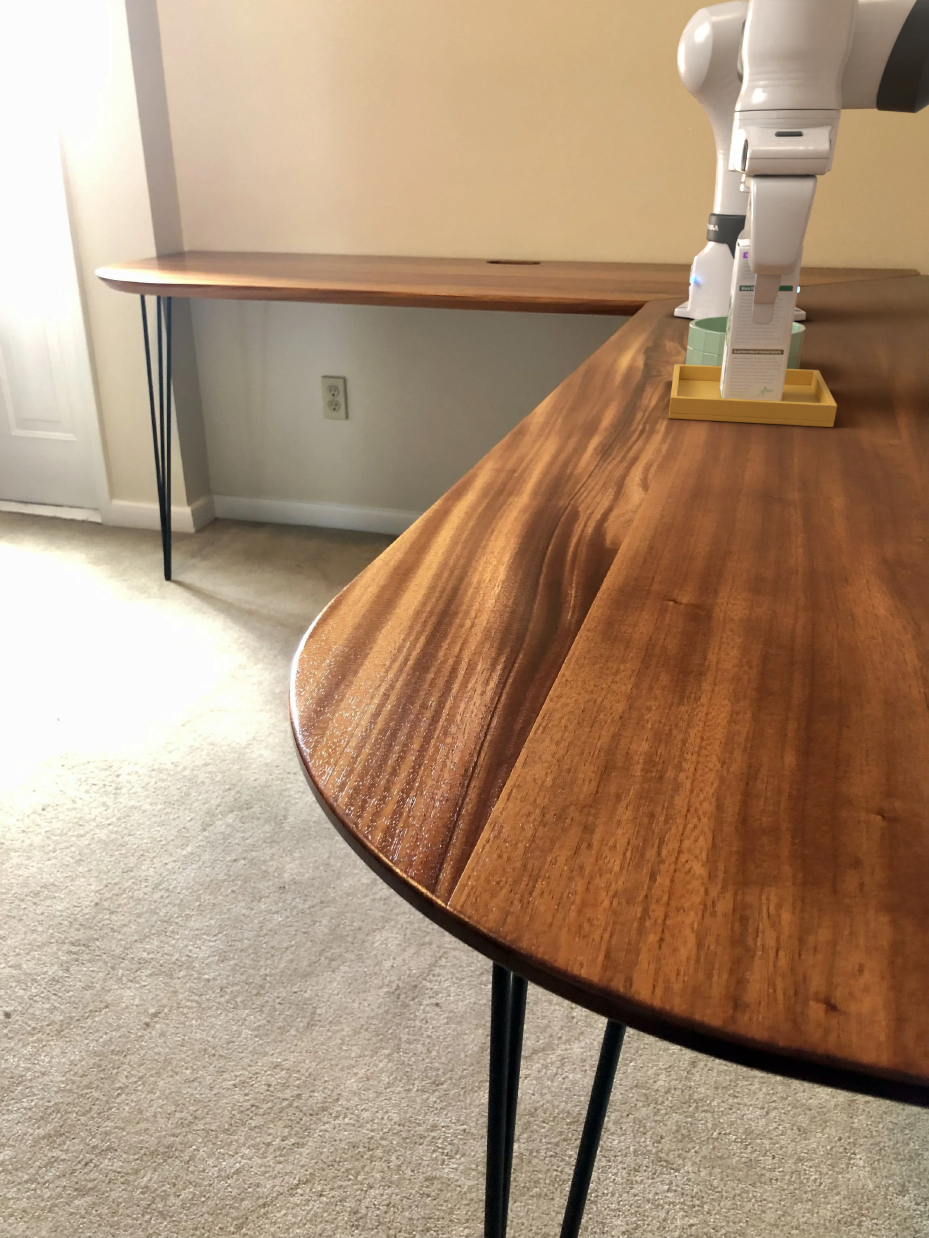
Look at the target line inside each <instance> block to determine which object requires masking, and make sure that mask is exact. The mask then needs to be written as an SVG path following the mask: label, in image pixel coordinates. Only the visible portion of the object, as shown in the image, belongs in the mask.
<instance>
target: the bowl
mask: <svg viewBox="0 0 929 1238" xmlns="http://www.w3.org/2000/svg"><path fill="white" fill-rule="evenodd" d="M727 319H728V316H715V317H705V318H700V319H693V320H691V321H689V327H688V335H687V336H688V337H687V345H686V353H685V364H684V365H707V366H722V362H723V353H724V344H725V336H726V327H727ZM806 330H807V328H806V326H805V325H804V324H801V323H799V322H796V321H793V327H792V334H791V342H790V349H789V355H788V362H787V368H786V369H800V365H801V360H802V355H803V347H804V342H805V337H806Z"/></svg>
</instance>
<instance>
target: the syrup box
mask: <svg viewBox="0 0 929 1238" xmlns="http://www.w3.org/2000/svg"><path fill="white" fill-rule="evenodd" d="M748 248H749V244H748V241H747V239H738V240H737V242H736V251H735V259H734V267H733V274H732V283H731V292H730V300H729V310H728V319H727V327H726V336H725V344H724V353H723V362H722V371H721V380H720V393H721V398H725V399H745V400H765V401H781V400H782V394H783V387H784V381H785V375H786V368H787V362H788V355H789V349H790V342H791V334H792V327H793V322H794V321H793V320H794V313H795V307H796V304H797V296H798V292H797V290H798V287H799V282H800V275H801V269H802V268H801V267H802V261H803V254H804V245H803V246H802V249H801V253H800V256H799V259H798V262H797V265H796V267H795V269H794V271H793V273H791V274H782V276H781V283H780V287H779V291H778V294H777V297H776V301H775V304H774V310H773V317H772V320H771V322H770V323H768V324H755V323H753V322H752V320H751V311H752V304H753V298H754V286H755V275H756V274H754V273H752V272H751V270H750V267H749V264H748V257H747V255H748Z"/></svg>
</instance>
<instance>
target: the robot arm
mask: <svg viewBox="0 0 929 1238" xmlns="http://www.w3.org/2000/svg"><path fill="white" fill-rule="evenodd" d="M676 53H677V54H676V65H677V70H678V75H679V79H680V81H681V83H682V85H683V86H684V87H685V89H686V91H687V92H688V93H689V94H690V95H691V96H692V97H693V98H694V99H695V100H696V101H697V102H698V104H699V105H700V106H701V108H702V109H703V111H704V112H705V115H706V117H707V119H708V122H709V124H710V127H711V131H712V133H713V134H712V135H713V138H714V143H715V144H714V145H715V150H716V151H715V152H716V164H715V185H714V197H713V206H712V212H711V213H709V214H708V215H709V216H708V222H707V224H706V241H707V243H706V245H705V246H704V248H703V249H702V250H700V252H698V253H697V255H695V256H694V257H693V263H691V266H690V272H689V284H690V285H689V287H688V290H687V293H688V295H689V296H688V300H687V301H685V302H683V303H681V304H680V305H678V306H677V307H675V309H674V313H673V316H675V317H680V318H689V319H693V320H695V319H700V318H705V317H715V316H728V310H729V300H730V292H731V283H732V274H733V267H734V259H735V251H736V242H737V240H738V239H747V241H748V244H749V248H748V255H747V257H748V264H749V267H750V270H751V272H752V273H754V274H756V275H755V286H754V298H753V304H752V311H751V320H752V322H753V323H755V324H768V323H770V322H771V320H772V317H773V310H774V304H775V301H776V297H777V294H778V291H779V287H780V283H781V276H782V274H791V273H793V271H794V269H795V267H796V265H797V262H798V259H799V256H800V253H801V249H802V246H803V247H804V241H805V238H806V234H807V230H808V225H809V221H810V218H811V213H812V209H813V205H814V201H815V196H816V191H817V187H818V180H819V179H818V176H825V175H826V174H827V172H831V171H832V169H833V162H834V156H835V151H836V145H837V139H838V133H839V127H840V121H841V115H842V110H877V111H880V112H893V113H907V114H917V113H919V112H920V111H922V110H924V109H925V108H927V107H928V106H929V0H731V1H726V2H722V3H721V2H720V3H716V4H712V5H708V6H705V7H701V8H700V9H697V11H696V12H694V14H693V15H692V17H690V19H689V20H688V22H687V23H686V24H685V27H684V28H683V31H682V33H681V36H680V38H679V41H678V46H677V52H676ZM800 289H801V287H800V286H798V290H797V293H800ZM806 315H807V312H806V311H804V310H802V309H801V308H799V307H797V306H795V313H794V320H793V322H796V321H805V320H806V319H807V316H806Z"/></svg>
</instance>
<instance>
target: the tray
mask: <svg viewBox="0 0 929 1238" xmlns="http://www.w3.org/2000/svg"><path fill="white" fill-rule="evenodd" d="M721 371H722V366H707V365H685V364H682V363H681V364H679V363H674V367H673V375H672V385H671V391H670V398H669V399H670V400H669V409H668V418H667V419H677V420H693V421H695V420H696V421H709V422H710V421H711V422H712V421H713V422H730V423H745V424H747V423H748V424H749V423H750V424H764V425H765V424H766V425H767V424H768V425H784V426H803V427H820V428H821V427H822V428H823V427H824V428H834V424H835V420H836V414H837V409H838V404H837V402H836V400H835V399H834V397H833V395H832V393H831V391H830V389H829V387H828V385H827V383H826V381H825V380H824V378H823V376H822V374H821V371H820V370H819V369H800V368H799V369H786V375H785V381H784V387H783V394H782V400H781V401H765V400H745V399H725V398H721V393H720V380H721Z"/></svg>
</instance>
